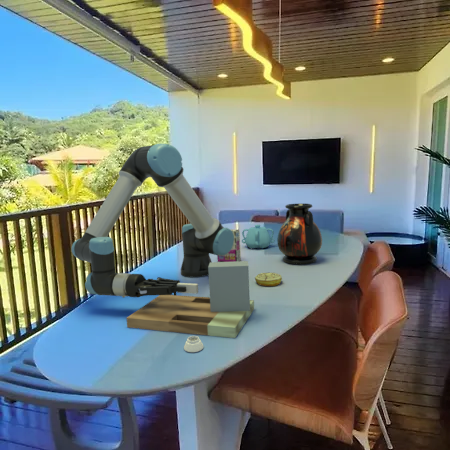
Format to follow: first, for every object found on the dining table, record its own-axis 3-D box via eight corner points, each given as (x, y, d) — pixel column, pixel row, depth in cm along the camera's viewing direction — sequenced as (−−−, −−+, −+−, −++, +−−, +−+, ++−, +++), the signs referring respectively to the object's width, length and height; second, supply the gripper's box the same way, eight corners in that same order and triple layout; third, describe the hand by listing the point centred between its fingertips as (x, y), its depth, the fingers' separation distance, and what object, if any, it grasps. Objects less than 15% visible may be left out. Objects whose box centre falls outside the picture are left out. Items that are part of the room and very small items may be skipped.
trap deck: (161, 302, 132) (160, 294, 132) (254, 309, 122) (253, 300, 121) (127, 327, 112) (126, 317, 111) (235, 338, 101) (234, 327, 101)
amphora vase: (269, 260, 187) (267, 205, 183) (303, 254, 197) (302, 201, 193) (295, 269, 168) (294, 207, 164) (331, 262, 178) (331, 204, 174)
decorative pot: (277, 247, 217) (277, 224, 215) (254, 251, 209) (253, 227, 207) (261, 243, 231) (261, 222, 229) (239, 247, 223) (238, 224, 222)
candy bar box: (241, 261, 188) (239, 229, 186) (236, 263, 184) (235, 230, 182) (221, 259, 193) (220, 228, 191) (217, 261, 189) (215, 230, 187)
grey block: (212, 304, 119) (209, 262, 117) (249, 303, 118) (247, 261, 116) (210, 311, 113) (208, 267, 111) (250, 310, 112) (248, 265, 110)
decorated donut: (272, 278, 156) (272, 269, 156) (287, 284, 147) (286, 275, 146) (250, 282, 152) (250, 273, 151) (264, 289, 142) (264, 279, 142)
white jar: (180, 348, 97) (190, 355, 93) (180, 338, 96) (189, 344, 92) (196, 342, 100) (207, 349, 96) (196, 332, 99) (206, 338, 95)
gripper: (141, 290, 128) (205, 293, 121) (120, 303, 116) (189, 307, 109) (139, 269, 127) (203, 271, 120) (118, 279, 115) (188, 283, 108)
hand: (197, 288), depth 115 cm, fingers closed
